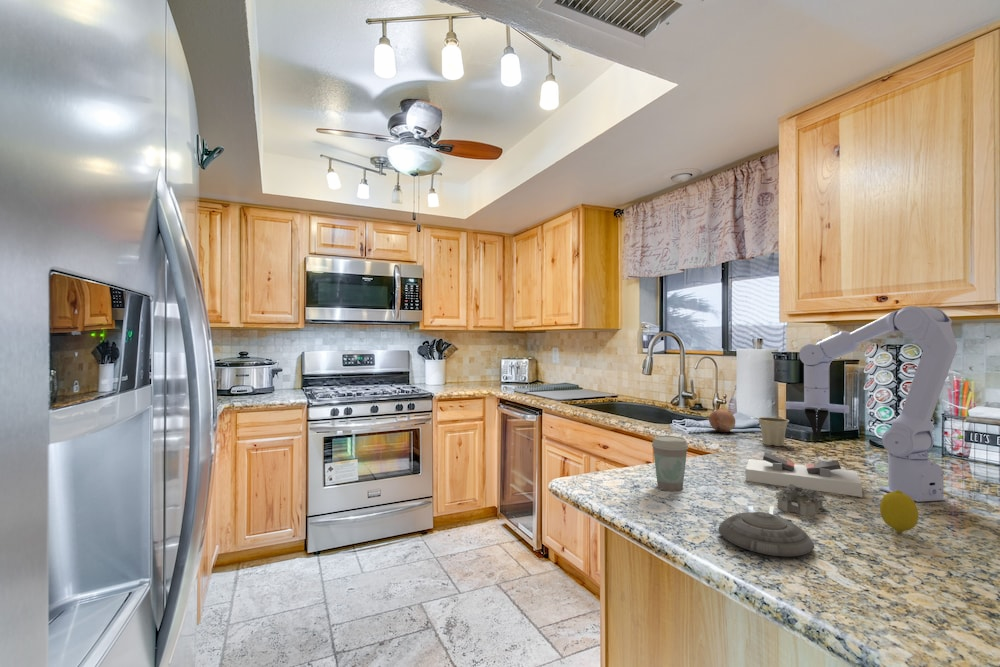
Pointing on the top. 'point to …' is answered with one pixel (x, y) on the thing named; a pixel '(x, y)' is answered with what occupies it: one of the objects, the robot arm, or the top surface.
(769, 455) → the breaker far
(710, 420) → the onion
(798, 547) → the flying saucer
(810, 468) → the breaker near
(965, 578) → the top surface
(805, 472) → the breaker panel
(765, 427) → the flower pot
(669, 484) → the coffee cup
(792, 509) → the grey stone ruin model
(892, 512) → the lemon
